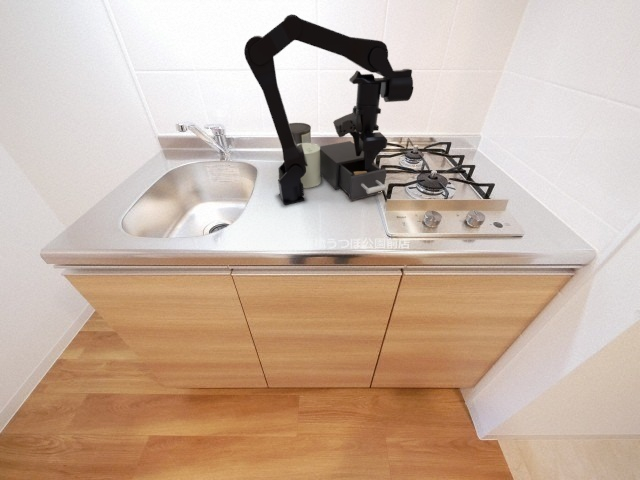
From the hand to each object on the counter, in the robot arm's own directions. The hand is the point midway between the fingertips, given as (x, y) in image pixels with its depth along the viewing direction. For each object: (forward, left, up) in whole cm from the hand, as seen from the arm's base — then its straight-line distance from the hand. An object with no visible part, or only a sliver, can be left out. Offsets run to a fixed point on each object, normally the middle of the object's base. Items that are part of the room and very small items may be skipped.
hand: (362, 162), depth 74 cm
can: (-13, +14, -10) cm, 21 cm away
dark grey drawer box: (0, +12, -10) cm, 15 cm away
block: (0, 0, -8) cm, 8 cm away
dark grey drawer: (0, 0, -9) cm, 9 cm away
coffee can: (-11, +27, -10) cm, 30 cm away
